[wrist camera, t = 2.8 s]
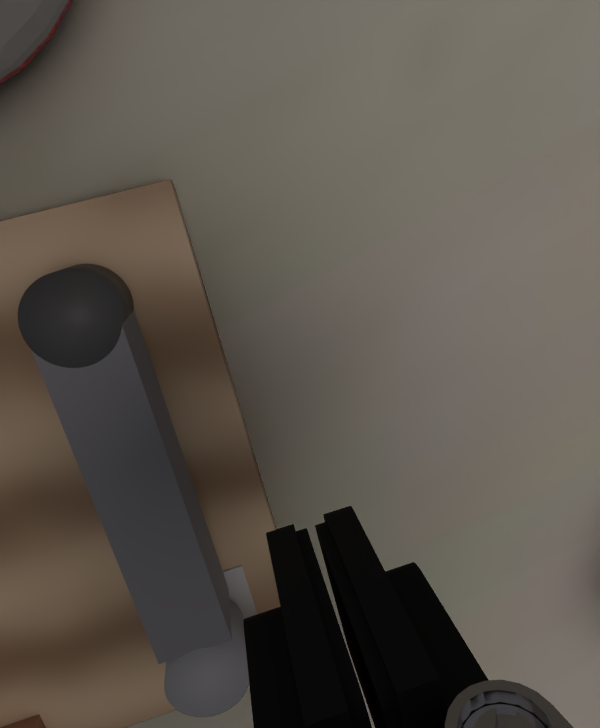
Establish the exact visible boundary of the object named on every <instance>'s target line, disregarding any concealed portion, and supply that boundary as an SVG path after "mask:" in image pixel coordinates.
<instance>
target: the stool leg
mask: <svg viewBox="0 0 600 728" xmlns="http://www.w3.org/2000/svg"><path fill="white" fill-rule="evenodd" d="M18 325H19V329H20V332H21V335H22V337H23V339H24V341H25V342H26V344H27V345H28V346H29V348H30V349H31V350H32V353H33V355H34V358H35V360H36V363H37V365H38V368H39V370H40V373H41V375H42V378H43V380H44V382H45V385H46V387H47V390H48V392H49V395H50V397H51V400H52V402H53V405H54V407H55V410H56V412H57V415H58V417H59V419H60V422H61V424H62V427H63V429H64V432H65V434H66V437H67V439H68V442H69V444H70V447H71V449H72V452H73V454H74V456H75V459H76V461H77V464H78V466H79V469H80V471H81V474H82V476H83V479H84V481H85V484H86V486H87V489H88V491H89V493H90V496H91V498H92V501H93V503H94V506H95V508H96V511H97V513H98V516H99V518H100V521H101V523H102V526H103V528H104V530H105V533H106V535H107V538H108V540H109V543H110V545H111V548H112V550H113V553H114V555H115V558H116V560H117V563H118V565H119V567H120V570H121V572H122V575H123V577H124V580H125V582H126V585H127V587H128V590H129V592H130V595H131V597H132V600H133V602H134V604H135V607H136V609H137V612H138V614H139V617H140V619H141V622H142V624H143V627H144V629H145V632H146V634H147V637H148V639H149V641H150V644H151V646H152V649H153V651H154V654H155V656H156V659H157V661H158V664H162V663H165V662H166V668H165V679H164V691H165V695H166V698H167V700H168V701H169V703H170V704H171V705H172V706H173V707H174V708H175V709H176V710H178V711H180V712H181V713H184V714H186V715H190V716H195V717H208V716H213V715H217V714H220V713H222V712H225V711H227V710H228V709H230V708H231V707H233V706H234V705H235V704H237V703H238V702H239V701H240V699H241V698H242V697H243V696H244V694H245V692H246V690H247V687H248V684H249V675H248V665H247V655H246V646H245V636H244V624H243V621H244V620H243V615H242V613H241V611H240V609H239V607H238V606H237V605H236V604H235V603H234V602H232V601H231V600H229V589H228V586H227V583H226V580H225V577H224V574H223V571H222V568H221V565H220V562H219V559H218V556H217V553H216V550H215V547H214V544H213V541H212V539H211V536H210V533H209V530H208V527H207V524H206V521H205V518H204V515H203V512H202V509H201V506H200V503H199V500H198V497H197V494H196V492H195V489H194V486H193V483H192V480H191V477H190V474H189V471H188V468H187V465H186V462H185V459H184V456H183V453H182V450H181V447H180V444H179V442H178V439H177V436H176V433H175V430H174V427H173V424H172V421H171V418H170V415H169V412H168V409H167V406H166V403H165V400H164V397H163V395H162V392H161V389H160V386H159V383H158V380H157V377H156V374H155V371H154V368H153V365H152V362H151V359H150V356H149V353H148V350H147V347H146V345H145V342H144V339H143V336H142V333H141V330H140V327H139V324H138V321H137V318H136V315H135V312H134V304H133V298H132V295H131V292H130V290H129V288H128V286H127V285H126V283H125V282H124V281H123V280H122V279H121V278H120V277H119V276H118V275H117V274H116V273H115V272H113V271H111V270H110V269H108V268H105V267H103V266H100V265H95V264H78V265H74V266H71V267H68V268H65V269H62V270H59V271H55V272H52V273H49V274H46V275H44V276H42V277H40V278H39V279H37V280H36V281H34V282H33V283H32V284H31V285H30V286H29V287H28V288H27V289H26V291H25V292H24V294H23V296H22V298H21V300H20V303H19V307H18Z"/></svg>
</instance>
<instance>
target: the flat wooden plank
mask: <svg viewBox="0 0 600 728" xmlns="http://www.w3.org/2000/svg"><path fill="white" fill-rule="evenodd" d="M78 264H95V265H100V266H103V267H105V268H108V269H110V270H111V271H113V272H115V273H116V274H117V275H118V276H119V277H120V278H121V279H122V280H123V281H124V282H125V283H126V285H127V286H128V288H129V290H130V292H131V295H132V298H133V304H134V312H135V315H136V318H137V321H138V324H139V327H140V330H141V333H142V336H143V339H144V342H145V345H146V347H147V350H148V353H149V356H150V359H151V362H152V365H153V368H154V371H155V374H156V377H157V380H158V383H159V386H160V389H161V392H162V395H163V397H164V400H165V403H166V406H167V409H168V412H169V415H170V418H171V421H172V424H173V427H174V430H175V433H176V436H177V439H178V442H179V444H180V447H181V450H182V453H183V456H184V459H185V462H186V465H187V468H188V471H189V474H190V477H191V480H192V483H193V486H194V489H195V492H196V494H197V497H198V500H199V503H200V506H201V509H202V512H203V515H204V518H205V521H206V524H207V527H208V530H209V533H210V536H211V539H212V541H213V544H214V547H215V550H216V553H217V556H218V559H219V562H220V565H221V568H222V571H223V574H224V577H225V580H226V583H227V586H228V589H229V600H231V601H232V602H234V603H235V604H236V605H237V606H238V607H239V609H240V611H241V613H242V615H243V620H244V619H245V618H248V617H251V616H254V615H257V614H260V613H263V612H266V611H269V610H272V609H275V608H278V607H281V606H280V601H279V596H278V591H277V586H276V581H275V576H274V572H273V567H272V562H271V557H270V552H269V547H268V542H267V537H266V533H267V532H270V531H273V530H276V526H275V523H274V520H273V516H272V513H271V510H270V506H269V503H268V500H267V496H266V493H265V489H264V486H263V483H262V479H261V476H260V473H259V469H258V466H257V463H256V459H255V456H254V453H253V449H252V446H251V442H250V439H249V436H248V432H247V429H246V426H245V422H244V419H243V416H242V412H241V409H240V405H239V402H238V399H237V395H236V392H235V389H234V385H233V382H232V379H231V375H230V372H229V369H228V365H227V362H226V358H225V355H224V352H223V348H222V345H221V342H220V338H219V335H218V332H217V328H216V325H215V321H214V318H213V315H212V311H211V308H210V305H209V301H208V298H207V295H206V291H205V288H204V285H203V281H202V278H201V274H200V271H199V268H198V264H197V261H196V258H195V254H194V251H193V248H192V244H191V241H190V238H189V234H188V231H187V227H186V224H185V221H184V217H183V214H182V211H181V207H180V204H179V201H178V197H177V194H176V190H175V187H174V184H173V182H172V181H171V180H166V181H162V182H158V183H154V184H150V185H146V186H141V187H137V188H133V189H129V190H125V191H121V192H117V193H113V194H109V195H105V196H101V197H97V198H93V199H89V200H85V201H81V202H77V203H73V204H69V205H64V206H60V207H56V208H52V209H48V210H44V211H40V212H36V213H32V214H28V215H24V216H20V217H16V218H12V219H8V220H4V221H0V728H125V727H128V726H131V725H134V724H137V723H140V722H143V721H146V720H148V719H151V718H154V717H157V716H160V715H163V714H166V713H169V712H172V711H174V710H176V709H175V708H174V707H173V706H172V705H171V704H170V703H169V701H168V700H167V698H166V695H165V691H164V679H165V668H166V662H165V663H162V664H158V661H157V659H156V656H155V654H154V651H153V649H152V646H151V644H150V641H149V639H148V637H147V634H146V632H145V629H144V627H143V624H142V622H141V619H140V617H139V614H138V612H137V609H136V607H135V604H134V602H133V600H132V597H131V595H130V592H129V590H128V587H127V585H126V582H125V580H124V577H123V575H122V572H121V570H120V567H119V565H118V563H117V560H116V558H115V555H114V553H113V550H112V548H111V545H110V543H109V540H108V538H107V535H106V533H105V530H104V528H103V526H102V523H101V521H100V518H99V516H98V513H97V511H96V508H95V506H94V503H93V501H92V498H91V496H90V493H89V491H88V489H87V486H86V484H85V481H84V479H83V476H82V474H81V471H80V469H79V466H78V464H77V461H76V459H75V456H74V454H73V452H72V449H71V447H70V444H69V442H68V439H67V437H66V434H65V432H64V429H63V427H62V424H61V422H60V419H59V417H58V415H57V412H56V410H55V407H54V405H53V402H52V400H51V397H50V395H49V392H48V390H47V387H46V385H45V382H44V380H43V378H42V375H41V373H40V370H39V368H38V365H37V363H36V360H35V358H34V355H33V353H32V350H31V349H30V348H29V346H28V345H27V344H26V342H25V341H24V339H23V337H22V335H21V332H20V329H19V325H18V307H19V303H20V300H21V298H22V296H23V294H24V292H25V291H26V289H27V288H28V287H29V286H30V285H31V284H32V283H33V282H34V281H36V280H37V279H39V278H40V277H42V276H44V275H46V274H49V273H52V272H55V271H59V270H62V269H65V268H68V267H71V266H74V265H78ZM248 685H250V684H248Z"/></svg>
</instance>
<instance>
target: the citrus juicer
mask: <svg viewBox="0 0 600 728" xmlns="http://www.w3.org/2000/svg"><path fill="white" fill-rule="evenodd" d="M72 1H73V0H0V84H2V83H3V82H5V81H6V80H8V79H9V78H11V77H12V76H14V75H15V74H17V73H18V72H20V71H21V70H23V68H24V67H25V66H26V65H27V64H28V63H29V62H30V61H31V60H32V59H33V58H34V57H35V56H36V55H37V54H38V52H39V51H40V50H41V49H42V48H43V47H44V46H45V45H46V44H47V43H48V42H49V41H50V40H51V38H52V36H53V34H54V33H55V31H56V29H57V28H58V26H59V24H60V22H61V21H62V19H63V17H64V16H65V14H66V12H67V10H68V9H69V7H70V5H71V4H72Z"/></svg>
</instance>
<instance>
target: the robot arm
mask: <svg viewBox="0 0 600 728" xmlns="http://www.w3.org/2000/svg"><path fill="white" fill-rule="evenodd" d="M324 520H325V522H324V523H321V524H318V525H315V527H316V531H317V535H318V539H319V542H320V546H321V550H322V553H323V557H324V561H325V564H326V568H327V572H328V576H329V579H330V583H331V587H332V590H333V594H334V598H335V601H336V605H337V609H338V612H339V616H340V620H341V623H342V627H343V631H344V634H345V638H346V641H347V645H348V648H349V651H350V654H351V657H352V660H353V663H354V666H355V669H356V672H357V675H358V678H359V681H360V684H361V687H362V690H363V693H364V696H365V699H366V702H367V704H368V707H369V710H370V713H371V716H372V719H373V722H374V725H375V728H573V726H572V725H571V724H570V723H569V722H568V721H567V720H566V719H565V718H564V717H563V716H562V715H561V714H560V712H559V711H558V710H557V709H556V708H555V707H554V706H553V705H552V704H551V703H550V702H549V701H547V700H546V699H545V698H544V697H543V696H541V695H540V694H539V693H538V692H536V691H534V690H532V689H530V688H528V687H526V686H524V685H522V684H520V683H515V682H510V681H506V680H488V679H487V677H486V676H485V674H484V672H483V671H482V669H481V667H480V666H479V664H478V663H477V661H476V659H475V658H474V656H473V654H472V653H471V651H470V650H469V648H468V646H467V645H466V643H465V641H464V640H463V638H462V637H461V635H460V633H459V632H458V630H457V628H456V627H455V625H454V624H453V622H452V620H451V619H450V617H449V615H448V614H447V612H446V611H445V609H444V607H443V606H442V604H441V602H440V601H439V599H438V598H437V596H436V594H435V593H434V591H433V589H432V588H431V586H430V585H429V583H428V581H427V580H426V578H425V576H424V575H423V573H422V572H421V570H420V569H419V567H418V566H417V564H415V563H414V562H413V563H410V564H407V565H404V566H401V567H398V568H395V569H392V570H389V571H386V572H385V571H384V569H383V567H382V565H381V563H380V561H379V559H378V557H377V555H376V553H375V551H374V549H373V547H372V545H371V543H370V541H369V539H368V537H367V536H366V534H365V532H364V530H363V528H362V526H361V524H360V522H359V520H358V518H357V516H356V514H355V512H354V510H353V508H352V507H351V506H349V507H346V508H342V509H339V510H336V511H333V512H330V513H327V514H324ZM266 537H267V542H268V547H269V552H270V557H271V562H272V567H273V572H274V576H275V581H276V586H277V591H278V596H279V601H280V606H281V607H278V608H275V609H272V610H269V611H266V612H263V613H260V614H257V615H254V616H251V617H248V618H245V619H244V621H243V624H244V636H245V646H246V655H247V665H248V675H249V684H250V694H251V704H252V713H253V723H254V728H372V727H371V723H370V719H369V716H368V712H367V709H366V706H365V702H364V699H363V696H362V693H361V690H360V687H359V683H358V680H357V677H356V674H355V671H354V668H353V665H352V663H351V660H350V657H349V654H348V651H347V648H346V645H345V642H344V639H343V636H342V633H341V630H340V627H339V624H338V621H337V618H336V615H335V612H334V609H333V606H332V603H331V600H330V597H329V594H328V591H327V588H326V585H325V582H324V579H323V576H322V573H321V570H320V567H319V564H318V561H317V558H316V555H315V552H314V549H313V546H312V543H311V540H310V537H309V534H308V531H307V529H303V530H299V531H295V528H294V525H293V524H292V525H289V526H286V527H283V528H280V529H276V530H273V531H270V532H267V533H266Z"/></svg>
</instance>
